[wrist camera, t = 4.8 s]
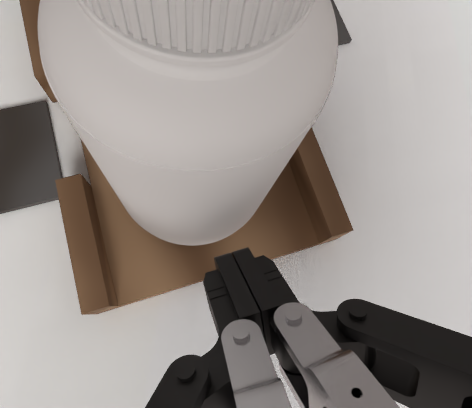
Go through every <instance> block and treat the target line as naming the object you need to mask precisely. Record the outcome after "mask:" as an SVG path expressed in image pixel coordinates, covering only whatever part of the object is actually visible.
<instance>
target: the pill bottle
mask: <svg viewBox="0 0 472 408" xmlns="http://www.w3.org/2000/svg"><path fill="white" fill-rule="evenodd" d="M38 41H39V50H40V57H41V62H42V66H43V70H44V73H45V76H46V78H47V81H48V83H49V85H50V88H51V90H52V92H53V94H54V96H55V98H56V99H57V101H58V103H59V105H60V106H61V108H62V110H63V111H64V113H65V114H66V116H67V118H68V119H69V121H70V122H71V124H72V125H73V127H74V129H75V130H76V132H77V133H78V135H79V136H80V138H81V140H82V141H83V143H84V144H85V146H86V148H87V149H88V151H89V152H90V154H91V155H92V157H93V159H94V160H95V162H96V163H97V165H98V166H99V168H100V170H101V171H102V173H103V174H104V176H105V177H106V179H107V181H108V182H109V184H110V185H111V187H112V188H113V190H114V192H115V193H116V195H117V196H118V198H119V199H120V201H121V203H122V204H123V206H124V207H125V209H126V210H127V212H128V213H129V215H130V216H131V217H132V218H133V219H134V220H135V222H136V223H138V224H139V225H140V226H141V227H142V228H143V229H145V230H146V231H148V232H149V233H150V234H152V235H154V236H156V237H158V238H160V239H162V240H164V241H167V242H170V243H174V244H179V245H189V246H195V245H205V244H210V243H213V242H217V241H219V240H222V239H224V238H226V237H228V236H230V235H231V234H233V233H235V232H236V231H237V230H239V229H240V228H241V227H243V226H244V225H245V224H246V223H247V222H248V221H249V220H250V219H251V217H252V216H253V215H254V213H255V212H256V210H257V209H258V207H259V206H260V204H261V203H262V201H263V200H264V198H265V197H266V195H267V194H268V192H269V191H270V189H271V188H272V186H273V184H274V183H275V181H276V180H277V178H278V177H279V175H280V174H281V172H282V171H283V169H284V168H285V166H286V165H287V163H288V162H289V160H290V159H291V157H292V156H293V154H294V152H295V151H296V149H297V148H298V146H299V145H300V143H301V142H302V140H303V139H304V137H305V136H306V134H307V133H308V131H309V130H310V128H311V127H312V125H313V123H314V122H315V120H316V119H317V117H318V115H319V114H320V112H321V110H322V108H323V106H324V104H325V102H326V100H327V98H328V96H329V93H330V91H331V88H332V85H333V81H334V77H335V71H336V64H337V56H338V32H337V24H336V18H335V14H334V10H333V6H332V3H331V0H40V4H39V11H38Z"/></svg>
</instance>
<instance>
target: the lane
mask: <svg viewBox="0 0 472 408" xmlns="http://www.w3.org/2000/svg"><path fill="white" fill-rule="evenodd" d="M19 1H20V6H21V11H22V16H23V21H24V26H25V31H26V36H27V41H28V46H29V51H30V56H31V61H32V66H33V71H34V76H35V78H36V79H37V80H38V82H39V83H40V85H41V86H42V88H43V89H44V91H45V92H46V94H47V95H48V97H49V98H50V99H51V101H52V102H58V101H57V99H56V98H55V96H54V94H53V92H52V90H51V88H50V85H49V83H48V81H47V78H46V76H45V73H44V70H43V66H42V62H41V57H40V50H39V41H38V11H39V4H40V0H19ZM331 3H332V6H333V10H334V14H335V18H336V24H337V32H338V45H341V44H346V43H350V42H351V40H352V39H351V37H350V35H349V33H348V31H347V29H346V27H345V24H344V22H343V20H342V18H341V16H340V14H339V12H338V10H337V7H336V5H335V3H334V1H333V0H331ZM81 142H82V147H83V151H84V156H85V160H86V165H87V169H88V174H89V178H90V183H91V186H90V184H89V183H88V182H87V181H86V180H85V178H84V177H83V176H82V175H81V174H78V175H74V176H69V177H65V178H62V173H61V168H60V163H59V158H58V153H57V149H56V144H55V139H54V134H53V129H52V124H51V119H50V114H49V109H48V104H47V102H46V101H42V102H37V103H32V104H27V105H22V106H17V107H12V108H7V109H2V110H0V214H2V213H6V212H10V211H14V210H18V209H22V208H26V207H30V206H34V205H38V204H42V203H46V202H50V201H54V200H58V199H59V203H60V208H61V213H62V218H63V223H64V228H65V233H66V238H67V243H68V248H69V253H70V258H71V263H72V268H73V273H74V278H75V283H76V288H77V294H78V299H79V304H80V309H81V314H82V315H83V314H99V313H102V312H105V311H108V310H112V309H115V308H118V307H121V306H124V305H128V304H131V303H134V302H137V301H140V300H144V299H147V298H150V297H153V296H156V295H160V294H163V293H166V292H169V291H172V290H176V289H179V288H182V287H185V286H188V285H191V284H195V283H198V282H201V281H204V277H205V273H207V272H210V271H213V270H216V266H215V262H214V257H217V256H220V255H224V254H227V253H231V252H233V251H237V250H240V249H243V248H247V247H248V248H249V249H250V251H251V252H252V254H253V256H254V258H255V257H259V256H262V255H264V256H266V257H267V258H269V259H270V260H271V259H275V258H278V257H281V256H284V255H287V254H291V253H294V252H297V251H300V250H303V249H307V248H310V247H313V246H316V245H319V244H322V243H326V242H329V241H332V240H335V239H337V238H339V237H341V236H343V235H345V234H347V233H349V232H351V231H353V228H352V226H351V223H350V221H349V218H348V216H347V213H346V211H345V208H344V206H343V203H342V201H341V198H340V196H339V194H338V191H337V189H336V186H335V184H334V181H333V179H332V176H331V174H330V171H329V169H328V167H327V164H326V162H325V159H324V157H323V154H322V152H321V149H320V147H319V144H318V142H317V139H316V137H315V135H314V132H313V130H312V127H311V128H310V130H309V131H308V133H307V134H306V136H305V137H304V139H303V140H302V142H301V143H300V145H299V146H298V148H297V149H296V151H295V152H294V154H293V156H292V157H291V159H290V160H289V162H288V163H287V165H286V166H285V168H284V169H283V171H282V172H281V174H280V175H279V177H278V178H277V180H276V181H275V183H274V184H273V186H272V188H271V189H270V191H269V192H268V194H267V195H266V197H265V198H264V200H263V201H262V203H261V204H260V206H259V207H258V209H257V210H256V212H255V213H254V215H253V216H252V217H251V219H250V220H249V221H248V222H247V223H246V224H245V225H244V226H243V227H241V228H240V229H239V230H237V231H236V232H235V233H233V234H231V235H230V236H228V237H226V238H224V239H222V240H219V241H217V242H213V243H210V244H205V245H195V246H189V245H179V244H174V243H170V242H167V241H164V240H162V239H160V238H158V237H156V236H154V235H152V234H150V233H149V232H148V231H146V230H145V229H143V228H142V227H141V226H140V225H139V224H138V223H136V222H135V220H134V219H133V218H132V217H131V216H130V215H129V213H128V212H127V210H126V209H125V207H124V206H123V204H122V203H121V201H120V199H119V198H118V196H117V195H116V193H115V192H114V190H113V188H112V187H111V185H110V184H109V182H108V181H107V179H106V177H105V176H104V174H103V173H102V171H101V170H100V168H99V166H98V165H97V163H96V162H95V160H94V159H93V157H92V155H91V154H90V152H89V151H88V149H87V148H86V146H85V144H84V143H83V141H82V140H81Z"/></svg>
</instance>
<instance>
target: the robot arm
mask: <svg viewBox="0 0 472 408" xmlns="http://www.w3.org/2000/svg"><path fill="white" fill-rule="evenodd" d="M214 262H215V266H216V270H213V271H210V272H207V273H205V277H204V282H203V283H204V287H205V292H206V296H207V300H208V304H209V308H210V311H211V314H212V317H213V320H214V324H215V326H216V330H217V333H218V336H219V338H218V341H217V343H216V344H215V346H214V347H213V348H212V349H211V350H210V351H209V352H207V353H206V354H205V355H203V356H202V357H200V356H197V355H185V356H182V357H180V358H178V359H176V360H175V361H174V362H173V363H172V364H171V365H170V366H169V368H168V369H167V371H166V373H165V374H164V376H163V378H162V380H161V381H160V383H159V385H158V386H157V388H156V390H155V392H154V393H153V395H152V397H151V399H150V400H149V402H148V404H147V405H146V407H145V408H292V407H291V405H290V402H289V399H288V396H287V394H286V391H285V388H284V385H283V383H282V381H281V379H280V378H278V376H277V374H276V371H275V368H274V366H273V363H272V360H271V357H270V355H271V354H274V353H275V354H276V356H277V358H278V360H279V366H280V371H281V374H282V375H283V377H284V379H285V381H286V383H287V384H288V386H289V388H290V390H291V391H292V393H293V395H294V397H295V398H296V400H297V402H298V404H299V406H300V407H301V408H399V406H398V405H397V404H396V403H395V401H396V402H399V403H401V404H403V405H405V406H407V407H409V408H472V337H470V336H467V335H464V334H461V333H458V332H455V331H452V330H450V329H447V328H444V327H441V326H438V325H435V324H432V323H429V322H426V321H423V320H420V319H417V318H414V317H411V316H408V315H406V314H403V313H400V312H397V311H394V310H391V309H388V308H385V307H382V306H379V305H376V304H373V303H370V302H367V301H364V300H361V299H349V300H346V301H344V302H342V303H341V304H340V305H339V306H338V309H337V311H329V312H317V311H312V310H310V309H309V308H308V307H307V306H305V305H303V304H301V303H299V301H298V300H297V298H296V297H295V295H294V293H293V292H292V290H291V289H290V287H289V286H288V284H287V283H286V281H285V279H284V278H283V277H282V275H281V273H280V272H279V271H278V268H277V267H276V265H275V264H274V262H273V261H272V260H270V259H269V258H267V257H266V256H264V255H262V256H259V257H255V258H254V256H253V254H252V252H251V251H250V249H249V248H248V247H247V248H243V249H240V250H237V251H233V252H231V253H227V254H224V255H220V256H217V257H214Z"/></svg>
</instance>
